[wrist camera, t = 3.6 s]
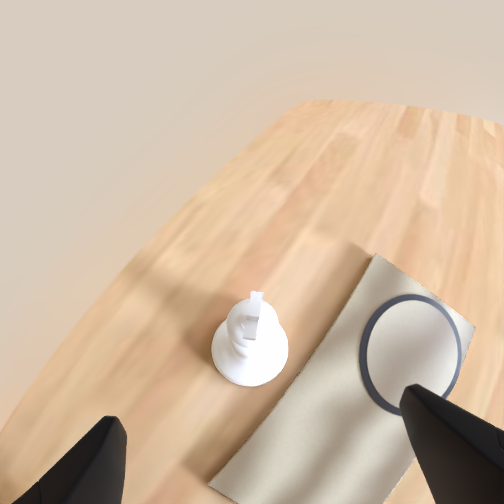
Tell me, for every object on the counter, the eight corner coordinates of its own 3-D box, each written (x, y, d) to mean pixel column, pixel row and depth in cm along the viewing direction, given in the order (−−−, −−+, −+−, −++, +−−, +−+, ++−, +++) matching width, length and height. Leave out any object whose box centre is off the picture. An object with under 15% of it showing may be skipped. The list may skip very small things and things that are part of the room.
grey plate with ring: (471, 328, 19) (476, 326, 18) (338, 547, 12) (341, 551, 11) (373, 255, 22) (376, 251, 21) (208, 482, 15) (207, 485, 14)
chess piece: (204, 378, 18) (164, 367, 9) (219, 306, 20) (198, 232, 11) (281, 391, 17) (318, 394, 8) (292, 318, 20) (332, 254, 11)
